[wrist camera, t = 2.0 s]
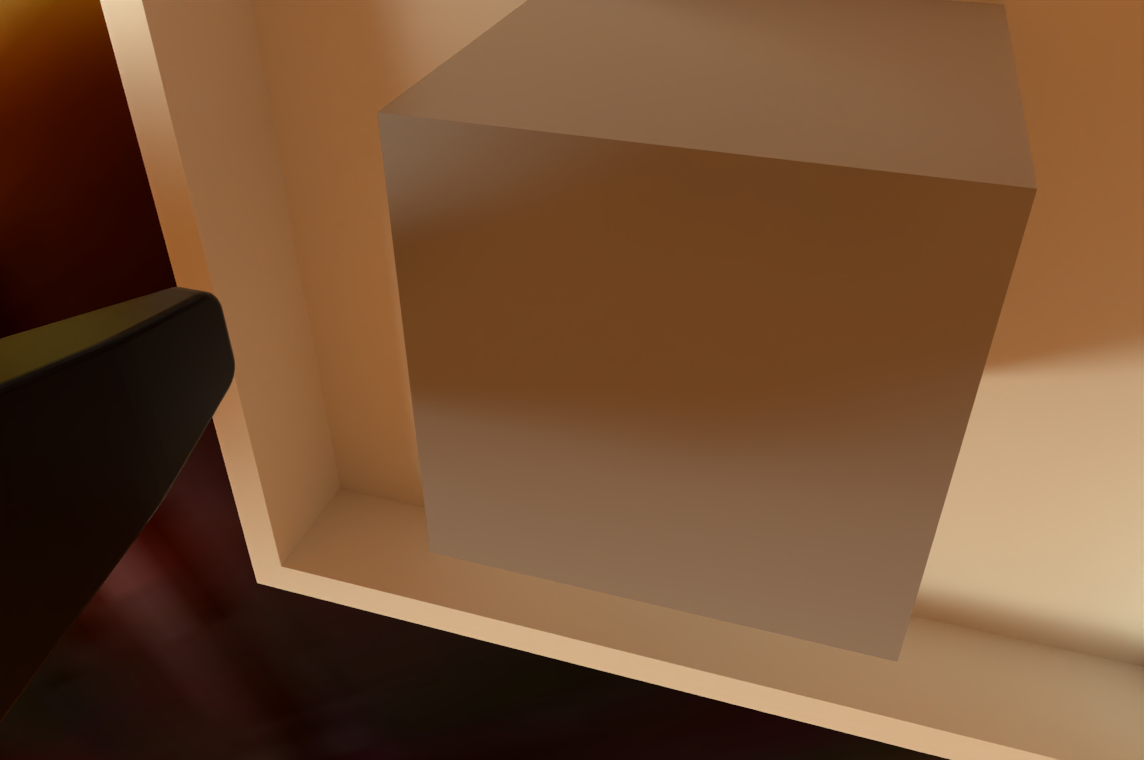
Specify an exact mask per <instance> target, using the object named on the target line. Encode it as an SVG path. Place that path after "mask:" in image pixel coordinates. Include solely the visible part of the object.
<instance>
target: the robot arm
mask: <svg viewBox="0 0 1144 760" xmlns="http://www.w3.org/2000/svg"><path fill="white" fill-rule="evenodd" d="M234 372H235V359H234V354H233V350H232V346H231V342H230V338H229V333H228V329H227V325H226V321H225V317H224V313H223V309H222V306H221V303H220V302H219V300H218V299H217V297H216V296H215V295H213V294H212V293H210V292H206V291H200V290H194V289H189V288H183V287H173V288H169V289H165V290H162V291H158V292H155V293H152V294H148V295H145V296H142V297H138V298H135V299H132V300H128V301H125V302H122V303H118V304H115V305H112V306H108V307H105V308H102V309H98V310H95V311H91V312H88V313H85V314H81V315H78V316H75V317H71V318H68V319H65V320H61V321H58V322H55V323H51V324H48V325H45V326H41V327H38V328H35V329H31V330H28V331H24V332H21V333H18V334H14V335H11V336H8V337H4V338H1V339H0V723H1V722H2V721H3V719H4V718H5V716H6V715H7V714H8V712H9V711H10V710H11V708H12V707H13V706H14V704H15V703H16V701H17V700H18V699H19V697H20V696H21V695H22V693H23V692H24V690H25V689H26V688H27V686H28V685H29V684H30V682H31V681H32V680H33V678H34V677H35V675H36V674H37V673H38V671H39V670H40V669H41V667H42V666H43V665H44V663H45V662H46V660H47V659H48V658H49V656H50V655H51V654H52V652H53V651H54V650H55V648H56V647H57V645H58V644H59V643H60V641H61V640H62V639H63V637H64V636H65V635H66V633H67V632H68V630H69V629H70V628H71V626H72V625H73V624H74V622H75V621H76V619H77V618H78V617H79V615H80V614H81V613H82V611H83V610H84V609H85V607H86V606H87V604H88V603H89V602H90V600H91V599H92V598H93V596H94V595H95V594H96V592H97V591H98V589H99V588H100V587H101V585H102V584H103V583H104V581H105V580H106V579H107V577H108V576H109V574H110V573H111V572H112V570H113V569H114V568H115V566H116V565H117V564H118V562H119V561H120V559H121V558H122V557H123V555H124V554H125V553H126V551H127V550H128V549H129V547H130V546H131V544H132V543H133V542H134V540H135V539H136V538H137V536H138V535H139V533H140V532H141V531H142V529H143V528H144V527H145V525H146V524H147V523H148V521H149V520H150V518H151V517H152V516H153V514H154V513H155V511H156V510H157V508H158V507H159V505H160V504H161V503H162V501H163V500H164V498H165V496H166V495H167V493H168V491H169V490H170V488H171V487H172V485H173V483H174V482H175V480H176V478H177V477H178V475H179V473H180V472H181V470H182V468H183V466H184V465H185V463H186V461H187V460H188V458H189V456H190V454H191V453H192V451H193V449H194V448H195V446H196V444H197V442H198V441H199V439H200V437H201V436H202V434H203V432H204V430H205V429H206V427H207V425H208V424H209V422H210V420H211V418H212V417H213V415H214V413H215V412H216V410H217V408H218V406H219V405H220V403H221V401H222V400H223V398H224V396H225V394H226V393H227V391H228V389H229V388H230V386H231V383H232V380H233V377H234Z"/></svg>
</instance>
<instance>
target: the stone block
mask: <svg viewBox="0 0 1144 760" xmlns="http://www.w3.org/2000/svg"><path fill="white" fill-rule="evenodd" d="M377 115H378V123H379V132H380V140H381V148H382V157H383V165H384V173H385V182H386V190H387V198H388V207H389V215H390V224H391V232H392V240H393V249H394V257H395V265H396V274H397V282H398V290H399V299H400V307H401V315H402V324H403V332H404V341H405V349H406V357H407V366H408V374H409V382H410V391H411V399H412V407H413V416H414V424H415V432H416V441H417V449H418V458H419V466H420V474H421V483H422V491H423V499H424V508H425V516H426V524H427V533H428V541H429V549H430V552H431V553H436V554H440V555H444V556H448V557H453V558H457V559H461V560H465V561H470V562H474V563H478V564H482V565H487V566H491V567H495V568H500V569H504V570H508V571H512V572H517V573H521V574H525V575H529V576H534V577H538V578H542V579H546V580H551V581H555V582H559V583H564V584H568V585H572V586H576V587H581V588H585V589H589V590H593V591H598V592H602V593H606V594H610V595H615V596H619V597H623V598H628V599H632V600H636V601H640V602H645V603H649V604H653V605H657V606H662V607H666V608H670V609H674V610H679V611H683V612H687V613H692V614H696V615H700V616H704V617H709V618H713V619H717V620H721V621H726V622H730V623H734V624H738V625H743V626H747V627H751V628H756V629H760V630H764V631H768V632H773V633H777V634H781V635H785V636H790V637H794V638H798V639H802V640H807V641H811V642H815V643H820V644H824V645H828V646H832V647H837V648H841V649H845V650H849V651H854V652H858V653H862V654H866V655H871V656H875V657H879V658H884V659H888V660H892V661H896V662H898V658H899V655H900V652H901V648H902V645H903V641H904V638H905V635H906V631H907V628H908V625H909V621H910V618H911V614H912V611H913V608H914V604H915V601H916V597H917V594H918V591H919V587H920V584H921V580H922V577H923V574H924V570H925V567H926V564H927V560H928V557H929V553H930V550H931V547H932V543H933V540H934V536H935V533H936V530H937V526H938V523H939V520H940V516H941V513H942V509H943V506H944V503H945V499H946V496H947V492H948V489H949V486H950V482H951V479H952V476H953V472H954V469H955V465H956V462H957V459H958V455H959V452H960V448H961V445H962V442H963V438H964V435H965V432H966V428H967V425H968V421H969V418H970V415H971V411H972V408H973V404H974V401H975V398H976V394H977V391H978V388H979V384H980V381H981V377H982V374H983V371H984V367H985V364H986V360H987V357H988V354H989V350H990V347H991V344H992V340H993V337H994V333H995V330H996V327H997V323H998V320H999V316H1000V313H1001V310H1002V306H1003V303H1004V300H1005V296H1006V293H1007V289H1008V286H1009V283H1010V279H1011V276H1012V272H1013V269H1014V266H1015V262H1016V259H1017V256H1018V252H1019V249H1020V245H1021V242H1022V239H1023V235H1024V232H1025V228H1026V225H1027V222H1028V218H1029V215H1030V212H1031V208H1032V205H1033V201H1034V198H1035V195H1036V191H1037V185H1036V179H1035V174H1034V168H1033V163H1032V157H1031V151H1030V146H1029V140H1028V135H1027V129H1026V123H1025V118H1024V112H1023V107H1022V101H1021V95H1020V90H1019V84H1018V79H1017V73H1016V68H1015V62H1014V56H1013V51H1012V45H1011V40H1010V34H1009V28H1008V23H1007V17H1006V12H1005V6H1004V4H992V3H978V2H965V1H951V0H527V1H526V2H524V3H523V4H522V5H520V6H519V7H518V8H516V9H515V10H514V11H512V12H511V13H510V14H508V15H507V16H506V17H504V18H503V19H502V20H500V21H499V22H497V23H496V24H495V25H493V26H492V27H491V28H489V29H488V30H487V31H485V32H484V33H483V34H481V35H480V36H479V37H477V38H476V39H475V40H473V41H472V42H471V43H469V44H468V45H467V46H465V47H464V48H463V49H461V50H460V51H459V52H457V53H456V54H455V55H453V56H452V57H451V58H449V59H448V60H447V61H445V62H444V63H443V64H441V65H440V66H438V67H437V68H436V69H434V70H433V71H432V72H430V73H429V74H428V75H426V76H425V77H424V78H422V79H421V80H420V81H418V82H417V83H416V84H414V85H413V86H412V87H410V88H409V89H408V90H406V91H405V92H404V93H402V94H401V95H400V96H398V97H397V98H396V99H394V100H393V101H392V102H390V103H389V104H388V105H386V106H385V107H384V108H382V109H381V110H380V111H378V112H377Z"/></svg>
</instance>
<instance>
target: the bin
mask: <svg viewBox="0 0 1144 760" xmlns="http://www.w3.org/2000/svg"><path fill="white" fill-rule="evenodd" d="M526 1H527V0H100V2H101V6H102V10H103V13H104V17H105V21H106V25H107V28H108V32H109V36H110V39H111V43H112V47H113V50H114V54H115V58H116V62H117V65H118V69H119V73H120V76H121V80H122V84H123V88H124V91H125V95H126V99H127V102H128V106H129V110H130V113H131V117H132V121H133V125H134V128H135V132H136V136H137V139H138V143H139V147H140V151H141V154H142V158H143V162H144V165H145V169H146V173H147V176H148V180H149V184H150V188H151V191H152V195H153V199H154V202H155V206H156V210H157V214H158V217H159V221H160V225H161V228H162V232H163V236H164V239H165V243H166V247H167V251H168V254H169V258H170V262H171V265H172V269H173V273H174V277H175V280H176V284H177V287H183V288H189V289H194V290H200V291H206V292H210V293H212V294H213V295H215V296H216V297H217V299H218V300H219V302H220V303H221V306H222V309H223V313H224V317H225V321H226V325H227V329H228V333H229V338H230V342H231V346H232V350H233V354H234V359H235V372H234V377H233V380H232V383H231V386H230V388H229V389H228V391H227V393H226V394H225V396H224V398H223V400H222V401H221V403H220V405H219V406H218V408H217V410H216V412H215V413H214V415H213V421H214V425H215V428H216V432H217V436H218V440H219V443H220V447H221V451H222V454H223V458H224V462H225V466H226V469H227V473H228V477H229V480H230V484H231V488H232V491H233V495H234V499H235V503H236V506H237V510H238V514H239V517H240V521H241V525H242V529H243V532H244V536H245V540H246V543H247V547H248V551H249V554H250V558H251V562H252V566H253V569H254V573H255V577H256V580H257V583H260V584H264V585H268V586H271V587H275V588H279V589H283V590H287V591H291V592H295V593H299V594H303V595H307V596H311V597H315V598H319V599H323V600H326V601H330V602H334V603H338V604H342V605H346V606H350V607H354V608H358V609H362V610H366V611H370V612H374V613H377V614H381V615H385V616H389V617H393V618H397V619H401V620H405V621H409V622H413V623H417V624H421V625H425V626H429V627H432V628H436V629H440V630H444V631H448V632H452V633H456V634H460V635H464V636H468V637H472V638H476V639H480V640H483V641H487V642H491V643H495V644H499V645H503V646H507V647H511V648H515V649H519V650H523V651H527V652H531V653H535V654H538V655H542V656H546V657H550V658H554V659H558V660H562V661H566V662H570V663H574V664H578V665H582V666H586V667H589V668H593V669H597V670H601V671H605V672H609V673H613V674H617V675H621V676H625V677H629V678H633V679H637V680H640V681H644V682H648V683H652V684H656V685H660V686H664V687H668V688H672V689H676V690H680V691H684V692H688V693H692V694H695V695H699V696H703V697H707V698H711V699H715V700H719V701H723V702H727V703H731V704H735V705H739V706H743V707H746V708H750V709H754V710H758V711H762V712H766V713H770V714H774V715H778V716H782V717H786V718H790V719H794V720H798V721H801V722H805V723H809V724H813V725H817V726H821V727H825V728H829V729H833V730H837V731H841V732H845V733H849V734H852V735H856V736H860V737H864V738H868V739H872V740H876V741H880V742H884V743H888V744H892V745H896V746H900V747H904V748H907V749H911V750H915V751H919V752H923V753H927V754H931V755H935V756H939V757H943V758H947V759H951V760H1144V0H951V1H965V2H978V3H992V4H1004V6H1005V12H1006V17H1007V23H1008V28H1009V34H1010V40H1011V45H1012V51H1013V56H1014V62H1015V68H1016V73H1017V79H1018V84H1019V90H1020V95H1021V101H1022V107H1023V112H1024V118H1025V123H1026V129H1027V135H1028V140H1029V146H1030V151H1031V157H1032V163H1033V168H1034V174H1035V179H1036V185H1037V191H1036V195H1035V198H1034V201H1033V205H1032V208H1031V212H1030V215H1029V218H1028V222H1027V225H1026V228H1025V232H1024V235H1023V239H1022V242H1021V245H1020V249H1019V252H1018V256H1017V259H1016V262H1015V266H1014V269H1013V272H1012V276H1011V279H1010V283H1009V286H1008V289H1007V293H1006V296H1005V300H1004V303H1003V306H1002V310H1001V313H1000V316H999V320H998V323H997V327H996V330H995V333H994V337H993V340H992V344H991V347H990V350H989V354H988V357H987V360H986V364H985V367H984V371H983V374H982V377H981V381H980V384H979V388H978V391H977V394H976V398H975V401H974V404H973V408H972V411H971V415H970V418H969V421H968V425H967V428H966V432H965V435H964V438H963V442H962V445H961V448H960V452H959V455H958V459H957V462H956V465H955V469H954V472H953V476H952V479H951V482H950V486H949V489H948V492H947V496H946V499H945V503H944V506H943V509H942V513H941V516H940V520H939V523H938V526H937V530H936V533H935V536H934V540H933V543H932V547H931V550H930V553H929V557H928V560H927V564H926V567H925V570H924V574H923V577H922V580H921V584H920V587H919V591H918V594H917V597H916V601H915V604H914V608H913V611H912V614H911V618H910V621H909V625H908V628H907V631H906V635H905V638H904V641H903V645H902V648H901V652H900V655H899V658H898V662H896V661H892V660H888V659H884V658H879V657H875V656H871V655H866V654H862V653H858V652H854V651H849V650H845V649H841V648H837V647H832V646H828V645H824V644H820V643H815V642H811V641H807V640H802V639H798V638H794V637H790V636H785V635H781V634H777V633H773V632H768V631H764V630H760V629H756V628H751V627H747V626H743V625H738V624H734V623H730V622H726V621H721V620H717V619H713V618H709V617H704V616H700V615H696V614H692V613H687V612H683V611H679V610H674V609H670V608H666V607H662V606H657V605H653V604H649V603H645V602H640V601H636V600H632V599H628V598H623V597H619V596H615V595H610V594H606V593H602V592H598V591H593V590H589V589H585V588H581V587H576V586H572V585H568V584H564V583H559V582H555V581H551V580H546V579H542V578H538V577H534V576H529V575H525V574H521V573H517V572H512V571H508V570H504V569H500V568H495V567H491V566H487V565H482V564H478V563H474V562H470V561H465V560H461V559H457V558H453V557H448V556H444V555H440V554H436V553H431V552H430V549H429V541H428V533H427V524H426V516H425V508H424V499H423V491H422V483H421V474H420V466H419V458H418V449H417V441H416V432H415V424H414V416H413V407H412V399H411V391H410V382H409V374H408V366H407V357H406V349H405V341H404V332H403V324H402V315H401V307H400V299H399V290H398V282H397V274H396V265H395V257H394V249H393V240H392V232H391V224H390V215H389V207H388V198H387V190H386V182H385V173H384V165H383V157H382V148H381V140H380V132H379V123H378V115H377V112H378V111H380V110H381V109H382V108H384V107H385V106H386V105H388V104H389V103H390V102H392V101H393V100H394V99H396V98H397V97H398V96H400V95H401V94H402V93H404V92H405V91H406V90H408V89H409V88H410V87H412V86H413V85H414V84H416V83H417V82H418V81H420V80H421V79H422V78H424V77H425V76H426V75H428V74H429V73H430V72H432V71H433V70H434V69H436V68H437V67H438V66H440V65H441V64H443V63H444V62H445V61H447V60H448V59H449V58H451V57H452V56H453V55H455V54H456V53H457V52H459V51H460V50H461V49H463V48H464V47H465V46H467V45H468V44H469V43H471V42H472V41H473V40H475V39H476V38H477V37H479V36H480V35H481V34H483V33H484V32H485V31H487V30H488V29H489V28H491V27H492V26H493V25H495V24H496V23H497V22H499V21H500V20H502V19H503V18H504V17H506V16H507V15H508V14H510V13H511V12H512V11H514V10H515V9H516V8H518V7H519V6H520V5H522V4H523V3H524V2H526Z"/></svg>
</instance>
